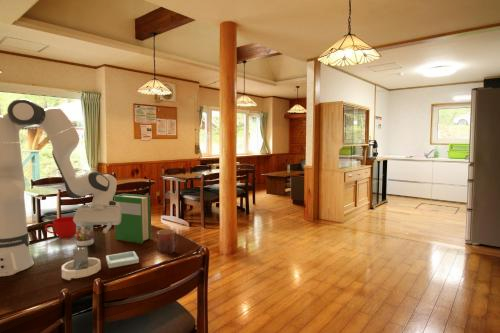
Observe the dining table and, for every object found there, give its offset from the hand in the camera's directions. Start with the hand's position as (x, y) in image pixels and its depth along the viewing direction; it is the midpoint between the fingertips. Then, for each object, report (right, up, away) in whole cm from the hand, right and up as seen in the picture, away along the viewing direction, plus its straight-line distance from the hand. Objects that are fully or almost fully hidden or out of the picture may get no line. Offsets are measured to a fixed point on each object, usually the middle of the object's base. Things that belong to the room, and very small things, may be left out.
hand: (93, 232), depth 141 cm
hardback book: (+6, -10, +31) cm, 33 cm away
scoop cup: (+1, -13, -12) cm, 18 cm away
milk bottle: (-16, -11, +23) cm, 30 cm away
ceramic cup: (-33, -10, +33) cm, 48 cm away
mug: (+28, -12, +13) cm, 33 cm away
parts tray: (+13, -13, -1) cm, 19 cm away
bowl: (+1, -14, -11) cm, 18 cm away
